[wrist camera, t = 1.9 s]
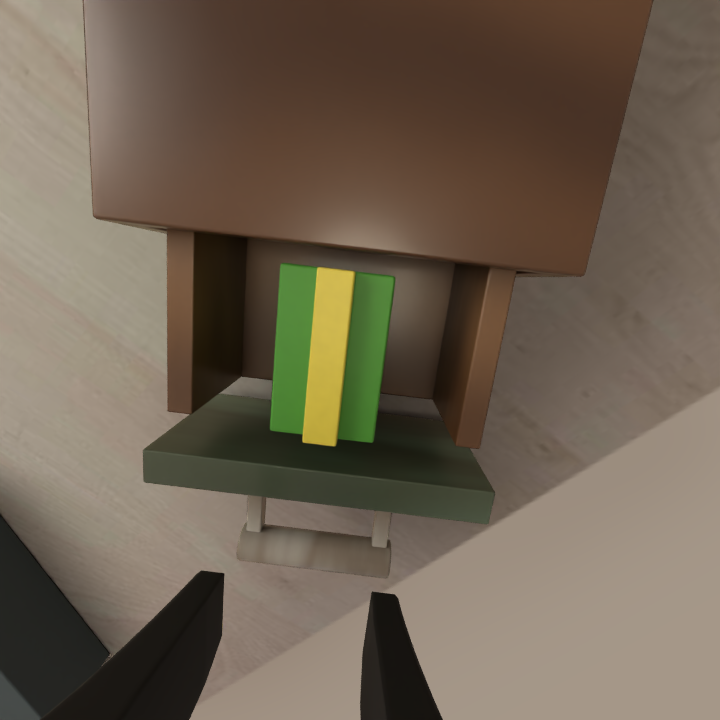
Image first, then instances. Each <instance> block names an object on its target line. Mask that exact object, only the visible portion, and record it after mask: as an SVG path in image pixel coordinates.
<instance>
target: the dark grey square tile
mask: <svg viewBox="0 0 720 720" xmlns="http://www.w3.org/2000/svg"><path fill="white" fill-rule="evenodd" d="M108 656H109V653H108V652H107V650H106V649H105V648H104V647H103V645H102V644H101V643H100V641H99V640H98V639H97V638H96V636H95V635H94V634H93V633H92V631H91V630H90V629H89V628H88V626H87V625H86V624H85V622H84V621H83V620H82V619H81V617H80V616H79V615H78V614H77V612H76V611H75V610H74V609H73V607H72V606H71V605H70V603H69V602H68V601H67V600H66V598H65V597H64V596H63V595H62V593H61V592H60V591H59V590H58V588H57V587H56V586H55V584H54V583H53V582H52V581H51V579H50V578H49V577H48V576H47V574H46V573H45V572H44V571H43V569H42V568H41V567H40V565H39V564H38V563H37V562H36V560H35V559H34V558H33V557H32V555H31V554H30V553H29V552H28V550H27V549H26V548H25V546H24V545H23V544H22V543H21V541H20V540H19V539H18V538H17V536H16V535H15V534H14V533H13V531H12V530H11V529H10V527H9V526H8V525H7V524H6V522H5V521H4V520H3V519H2V517H1V516H0V720H40V719H41V718H42V717H44V716H45V715H46V714H47V713H48V712H50V711H51V710H52V709H53V708H54V707H56V706H57V705H58V704H59V703H60V702H62V701H63V700H64V699H65V698H66V697H68V696H69V695H70V694H71V693H72V692H73V691H75V690H76V689H77V688H78V687H79V686H80V685H82V684H83V683H84V682H85V681H86V680H87V679H88V678H89V677H90V676H92V675H93V674H94V673H95V672H96V671H97V670H98V669H99V668H100V667H101V666H102V664H103V663H104V662H105V660H106V659H107V657H108Z"/></svg>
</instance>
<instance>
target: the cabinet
mask: <svg viewBox="0 0 720 720" xmlns="http://www.w3.org/2000/svg"><path fill="white" fill-rule="evenodd" d="M652 4H653V0H83V15H84V36H85V57H86V78H87V99H88V120H89V141H90V162H91V183H92V204H93V216H94V217H95V218H96V219H99V220H104V221H109V222H113V223H118V224H123V225H127V226H132V227H137V228H141V229H146V230H151V231H156V232H160V233H165V234H167V229H171V230H180V231H188V232H196V233H205V234H213V235H222V236H230V237H238V238H247V239H255V240H264V241H272V242H280V243H289V244H297V245H306V246H314V247H322V248H331V249H339V250H348V251H356V252H364V253H373V254H381V255H390V256H398V257H406V258H415V259H423V260H432V261H440V262H448V263H457V264H465V265H474V266H482V267H490V268H499V269H507V270H516V276H515V277H581V276H584V274H585V272H586V268H587V264H588V260H589V256H590V252H591V248H592V244H593V240H594V236H595V232H596V228H597V224H598V220H599V216H600V212H601V208H602V204H603V200H604V196H605V192H606V188H607V184H608V180H609V176H610V172H611V168H612V164H613V160H614V156H615V152H616V148H617V144H618V140H619V136H620V132H621V128H622V124H623V120H624V116H625V112H626V108H627V104H628V100H629V96H630V92H631V88H632V84H633V80H634V76H635V72H636V68H637V64H638V60H639V56H640V52H641V48H642V44H643V40H644V36H645V32H646V28H647V24H648V20H649V16H650V12H651V8H652Z"/></svg>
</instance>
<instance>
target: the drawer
mask: <svg viewBox="0 0 720 720" xmlns="http://www.w3.org/2000/svg"><path fill="white" fill-rule="evenodd" d="M281 263H290V264H298V265H307V266H315V267H325V268H334V269H342V270H350V271H357V272H365V273H374V274H382V275H390V276H394V277H395V279H396V280H395V288H394V295H393V302H392V310H391V317H390V325H389V332H388V339H387V347H386V354H385V362H384V369H383V376H382V384H381V391H380V393H383V394H391V395H399V396H407V397H416V398H424V399H432V400H433V401H434V403H435V405H436V407H437V409H438V411H439V413H440V416H441V418H442V420H443V421H440V420H431V419H423V418H415V417H407V416H398V415H390V414H382V413H377V421H376V428H375V436H374V441H373V442H372V443H368V442H360V441H351V440H343V439H337V444H336V446H326V445H318V444H310V443H303V441H302V437H303V435H302V434H294V433H286V432H277V431H271V430H270V416H271V401H272V400H266V399H258V398H250V397H242V396H233V395H225V394H219V393H220V392H222V391H223V390H224V389H226V388H227V387H228V386H230V385H231V384H232V383H233V382H235V381H236V380H237V379H239V378H240V377H241V376H242V377H250V378H259V379H267V380H273V370H274V354H275V339H276V323H277V307H278V292H279V276H280V265H281ZM515 276H516V270H507V269H499V268H490V267H482V266H474V265H465V264H457V263H448V262H440V261H432V260H423V259H415V258H406V257H398V256H390V255H381V254H373V253H364V252H356V251H348V250H339V249H331V248H322V247H314V246H306V245H297V244H289V243H280V242H272V241H264V240H255V239H247V238H238V237H230V236H222V235H213V234H205V233H196V232H188V231H180V230H171V229H167V368H168V411H169V412H177V413H185V414H190V415H189V416H187V417H186V418H185V419H183V420H182V421H181V422H179V423H178V424H177V425H175V426H174V427H173V428H171V429H170V430H169V431H167V432H166V433H165V434H163V435H162V436H161V437H159V438H158V439H157V440H155V441H154V442H153V443H151V444H150V445H149V446H147V447H146V448H145V449H144V450H143V476H144V482H146V483H154V484H162V485H170V486H178V487H186V488H195V489H203V490H211V491H219V492H227V493H235V494H244V495H248V506H247V523H246V524H245V525H244V527H243V529H242V531H241V534H240V537H239V541H238V546H237V559H238V560H240V561H248V562H256V563H265V564H273V565H281V566H289V567H297V568H305V569H313V570H321V571H329V572H338V573H346V574H354V575H362V576H370V577H378V578H388V576H389V571H390V563H391V542H390V540H389V539H388V535H389V528H390V522H391V515H392V513H399V514H407V515H415V516H423V517H432V518H440V519H448V520H456V521H464V522H473V523H481V524H488V523H489V519H490V514H491V510H492V505H493V501H494V496H495V491H494V490H493V488H492V486H491V484H490V483H489V481H488V479H487V478H486V476H485V474H484V472H483V471H482V469H481V467H480V465H479V464H478V462H477V460H476V458H475V457H474V455H473V453H472V451H471V450H470V448H476V449H479V448H480V444H481V440H482V435H483V430H484V425H485V420H486V416H487V411H488V406H489V401H490V396H491V392H492V387H493V382H494V377H495V372H496V368H497V363H498V358H499V353H500V348H501V344H502V339H503V334H504V329H505V324H506V319H507V315H508V310H509V305H510V300H511V295H512V291H513V286H514V281H515ZM266 497H268V498H276V499H285V500H293V501H301V502H309V503H317V504H325V505H334V506H342V507H350V508H358V509H366V510H374V511H375V516H374V523H373V530H372V537H365V536H357V535H349V534H341V533H332V532H324V531H316V530H308V529H300V528H292V527H284V526H275V525H267V524H264V523H265V510H266Z"/></svg>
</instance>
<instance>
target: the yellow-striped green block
mask: <svg viewBox="0 0 720 720" xmlns="http://www.w3.org/2000/svg"><path fill="white" fill-rule="evenodd" d="M395 280H396V279H395V277H394V276H390V275H382V274H374V273H365V272H357V271H350V270H342V269H334V268H325V267H315V266H307V265H298V264H290V263H281V265H280V276H279V292H278V307H277V323H276V339H275V354H274V370H273V385H272V401H271V416H270V430H271V431H277V432H286V433H294V434H302V435H303V437H302V441H303V443H310V444H318V445H326V446H336V444H337V439H343V440H351V441H360V442H368V443H372V442H373V441H374V436H375V428H376V421H377V413H378V406H379V399H380V391H381V384H382V376H383V369H384V362H385V354H386V347H387V339H388V332H389V325H390V317H391V310H392V302H393V295H394V288H395Z"/></svg>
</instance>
